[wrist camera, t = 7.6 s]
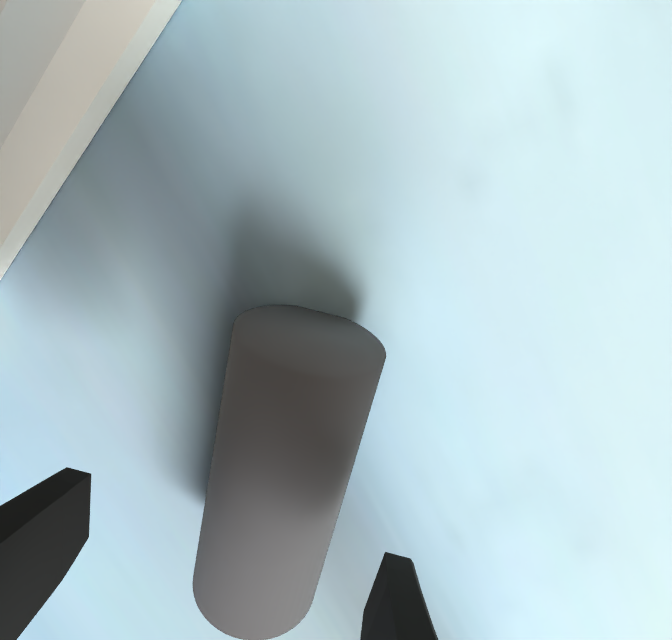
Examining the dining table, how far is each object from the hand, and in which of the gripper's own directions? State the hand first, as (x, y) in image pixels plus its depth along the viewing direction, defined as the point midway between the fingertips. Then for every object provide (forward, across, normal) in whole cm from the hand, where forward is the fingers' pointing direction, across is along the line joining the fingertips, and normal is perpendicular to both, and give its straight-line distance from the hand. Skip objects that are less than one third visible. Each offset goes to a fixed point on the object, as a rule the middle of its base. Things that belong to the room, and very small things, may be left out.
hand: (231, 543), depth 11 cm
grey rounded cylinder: (+5, 0, 0) cm, 5 cm away
